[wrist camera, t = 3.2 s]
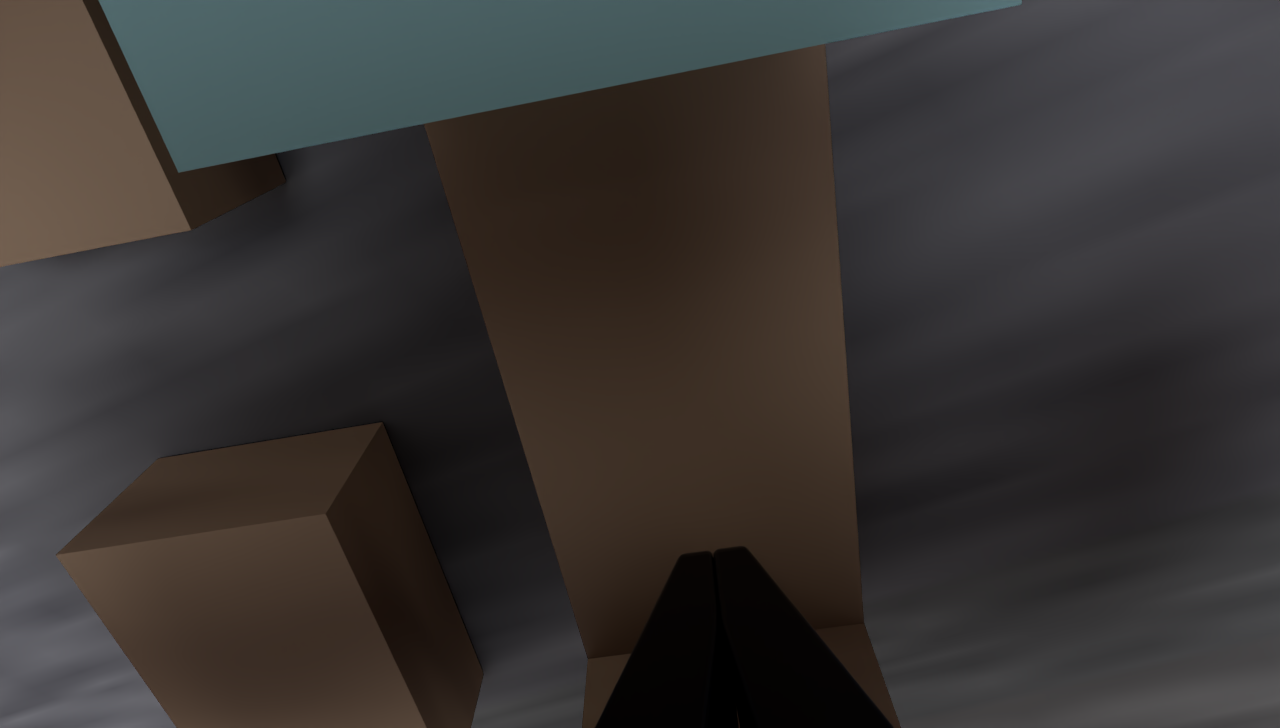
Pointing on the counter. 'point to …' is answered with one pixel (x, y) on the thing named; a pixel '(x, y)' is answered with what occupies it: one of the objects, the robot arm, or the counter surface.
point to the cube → (440, 57)
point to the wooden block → (672, 337)
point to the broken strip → (222, 450)
